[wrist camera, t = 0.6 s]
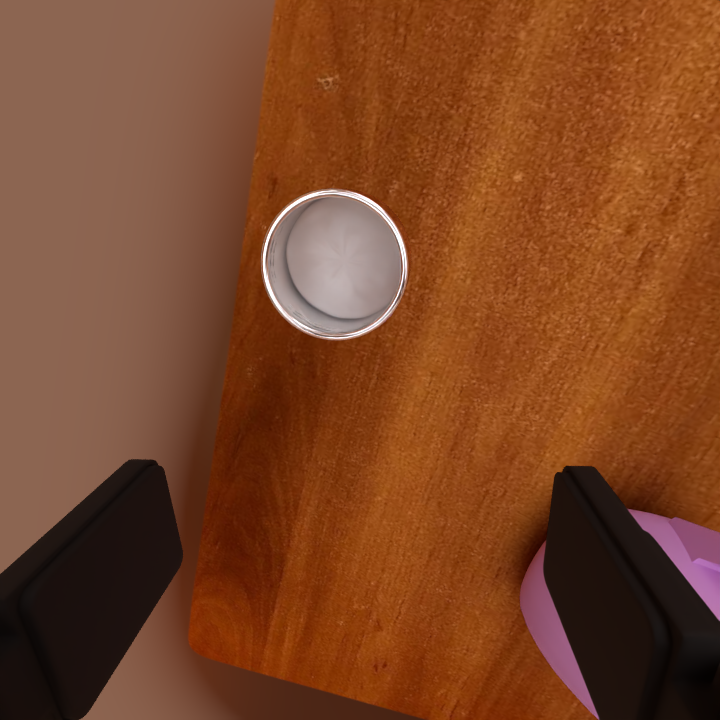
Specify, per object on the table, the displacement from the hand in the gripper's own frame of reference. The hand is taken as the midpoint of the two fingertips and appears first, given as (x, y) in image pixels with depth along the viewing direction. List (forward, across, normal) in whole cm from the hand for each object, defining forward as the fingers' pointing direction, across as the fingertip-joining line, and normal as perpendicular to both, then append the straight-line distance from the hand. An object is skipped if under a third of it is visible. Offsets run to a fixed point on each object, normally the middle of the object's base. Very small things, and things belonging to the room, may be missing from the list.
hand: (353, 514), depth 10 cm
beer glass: (+25, +2, -4) cm, 26 cm away
